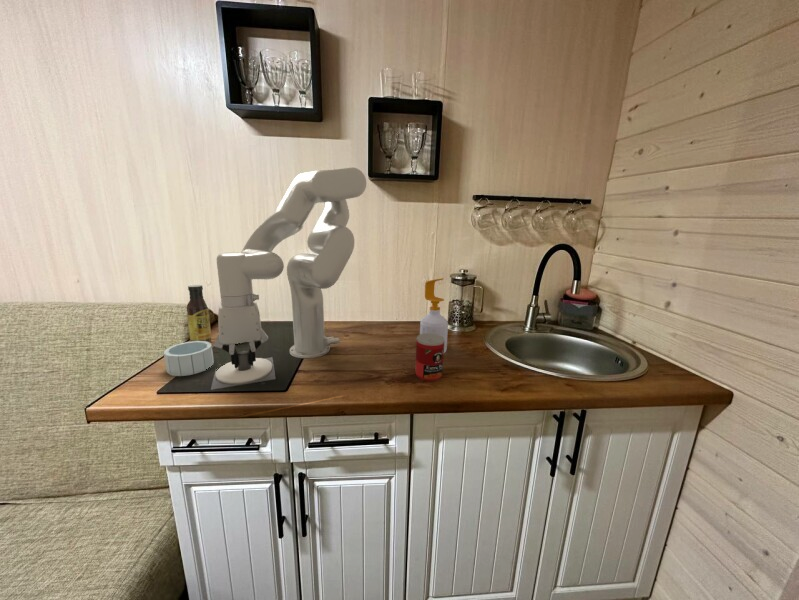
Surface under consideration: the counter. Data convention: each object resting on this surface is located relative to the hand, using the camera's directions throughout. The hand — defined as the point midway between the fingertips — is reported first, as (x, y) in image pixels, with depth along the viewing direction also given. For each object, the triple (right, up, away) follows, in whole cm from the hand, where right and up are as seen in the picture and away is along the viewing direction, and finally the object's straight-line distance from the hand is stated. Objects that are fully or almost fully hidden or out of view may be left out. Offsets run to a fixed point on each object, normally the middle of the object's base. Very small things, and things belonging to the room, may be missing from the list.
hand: (244, 364), depth 87 cm
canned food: (+51, -3, +2) cm, 51 cm away
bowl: (-17, -2, +3) cm, 17 cm away
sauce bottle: (-25, +3, +22) cm, 33 cm away
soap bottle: (+54, +1, +19) cm, 57 cm away
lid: (0, -2, +1) cm, 2 cm away
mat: (0, -2, +1) cm, 3 cm away
